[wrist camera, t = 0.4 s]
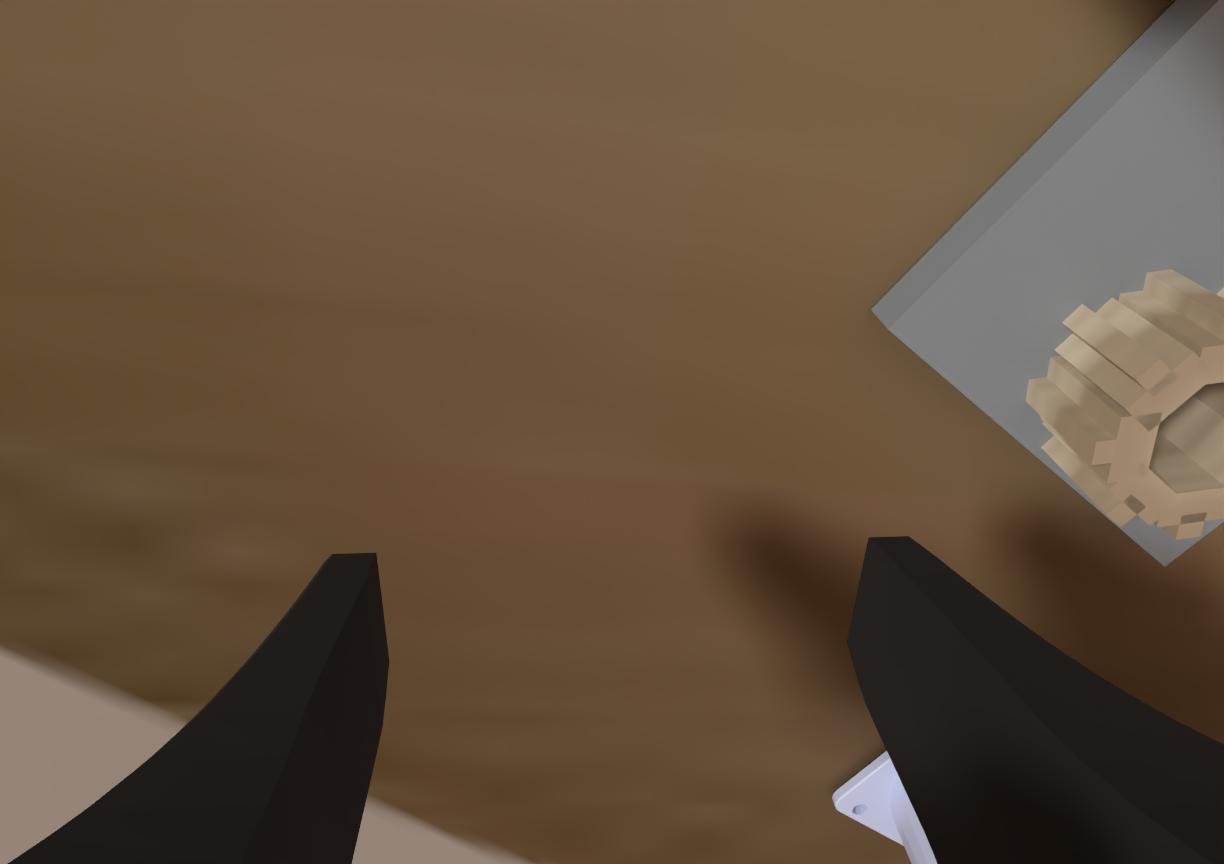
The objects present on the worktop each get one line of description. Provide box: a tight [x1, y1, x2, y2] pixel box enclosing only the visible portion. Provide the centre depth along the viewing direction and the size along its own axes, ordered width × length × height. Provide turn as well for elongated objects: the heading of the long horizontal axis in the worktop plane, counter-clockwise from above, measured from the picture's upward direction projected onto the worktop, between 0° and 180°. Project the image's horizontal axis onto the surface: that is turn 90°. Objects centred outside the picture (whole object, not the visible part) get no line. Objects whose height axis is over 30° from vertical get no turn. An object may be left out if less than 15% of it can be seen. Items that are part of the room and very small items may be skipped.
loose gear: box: [1026, 269, 1224, 540], centre depth 22 cm, size 6×6×3 cm
